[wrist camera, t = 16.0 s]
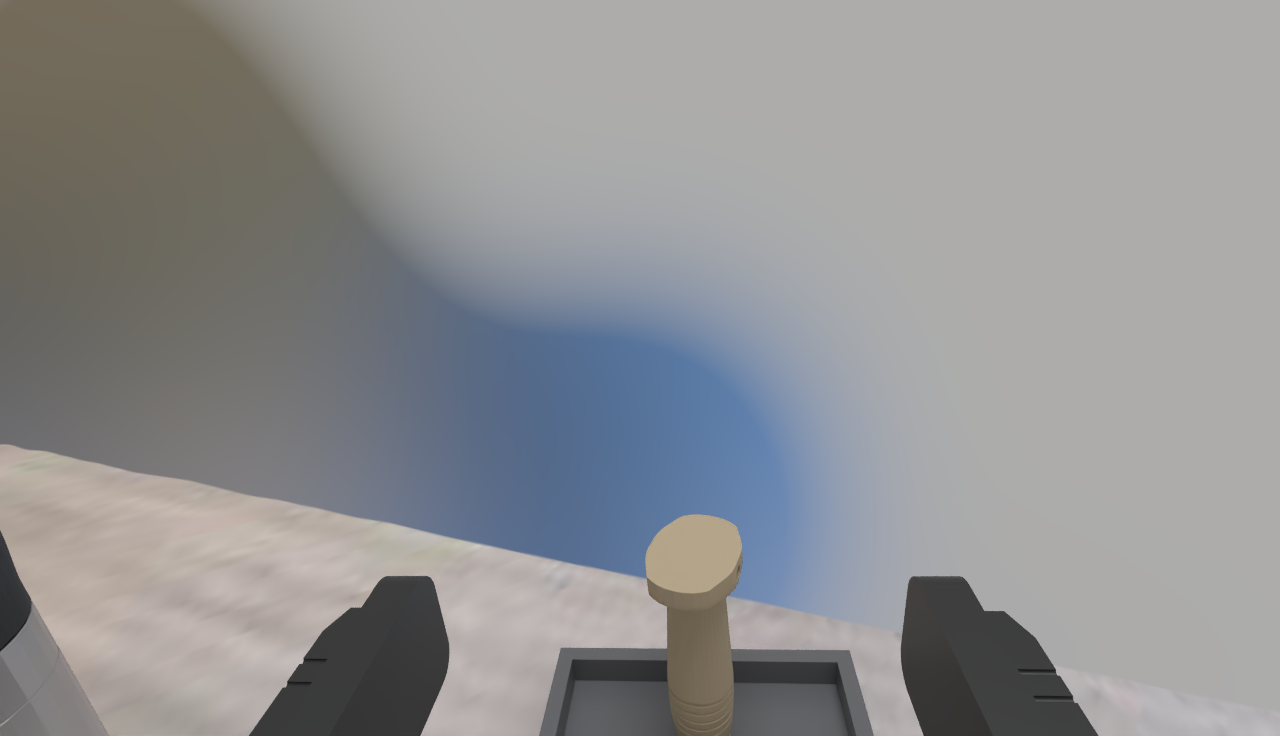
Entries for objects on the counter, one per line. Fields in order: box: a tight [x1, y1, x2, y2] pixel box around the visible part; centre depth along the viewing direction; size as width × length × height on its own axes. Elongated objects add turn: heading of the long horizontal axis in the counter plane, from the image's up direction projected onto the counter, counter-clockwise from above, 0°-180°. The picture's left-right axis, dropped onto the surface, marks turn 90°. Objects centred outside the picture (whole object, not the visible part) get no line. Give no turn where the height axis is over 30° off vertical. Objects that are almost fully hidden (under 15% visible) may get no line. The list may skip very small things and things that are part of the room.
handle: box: [645, 515, 742, 736], centre depth 36 cm, size 5×6×15 cm
